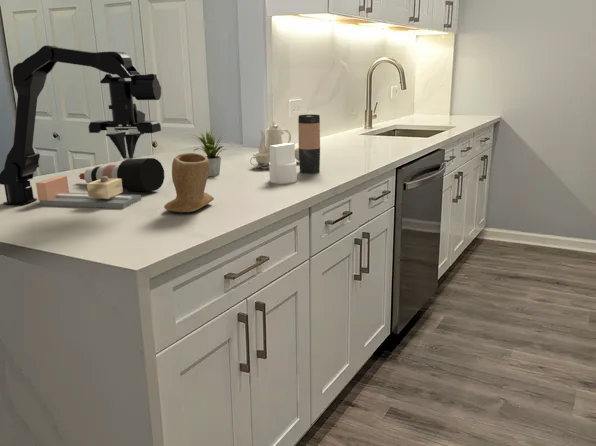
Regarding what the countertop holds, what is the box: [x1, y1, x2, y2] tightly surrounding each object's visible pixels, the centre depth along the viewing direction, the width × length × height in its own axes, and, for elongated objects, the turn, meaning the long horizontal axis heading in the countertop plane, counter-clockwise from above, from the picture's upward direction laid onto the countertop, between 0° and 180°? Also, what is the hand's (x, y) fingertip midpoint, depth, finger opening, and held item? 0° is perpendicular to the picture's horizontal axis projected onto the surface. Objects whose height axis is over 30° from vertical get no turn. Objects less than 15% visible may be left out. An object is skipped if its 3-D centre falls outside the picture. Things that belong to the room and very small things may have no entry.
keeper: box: [86, 176, 124, 199], centre depth 153 cm, size 6×8×5 cm
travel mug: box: [297, 114, 321, 175], centre depth 192 cm, size 8×8×20 cm
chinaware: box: [249, 121, 299, 170], centre depth 209 cm, size 28×17×17 cm, turn 131°
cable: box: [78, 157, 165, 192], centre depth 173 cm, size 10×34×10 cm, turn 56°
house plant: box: [188, 130, 227, 177], centre depth 191 cm, size 14×14×16 cm
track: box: [35, 175, 142, 209], centre depth 155 cm, size 26×10×6 cm, turn 78°
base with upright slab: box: [268, 142, 298, 184], centre depth 179 cm, size 9×9×12 cm
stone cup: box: [163, 152, 215, 213], centre depth 145 cm, size 15×12×15 cm
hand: (128, 158), depth 149 cm, fingers closed
